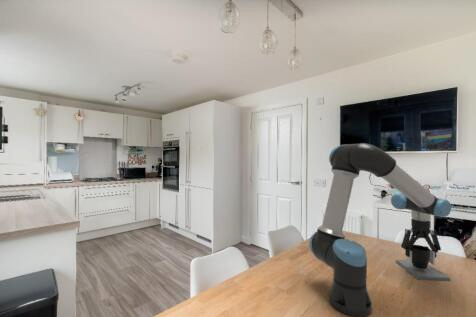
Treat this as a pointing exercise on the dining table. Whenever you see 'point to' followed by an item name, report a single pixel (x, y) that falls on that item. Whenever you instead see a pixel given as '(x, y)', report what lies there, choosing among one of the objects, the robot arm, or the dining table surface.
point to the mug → (420, 256)
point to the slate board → (423, 272)
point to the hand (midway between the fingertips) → (420, 263)
